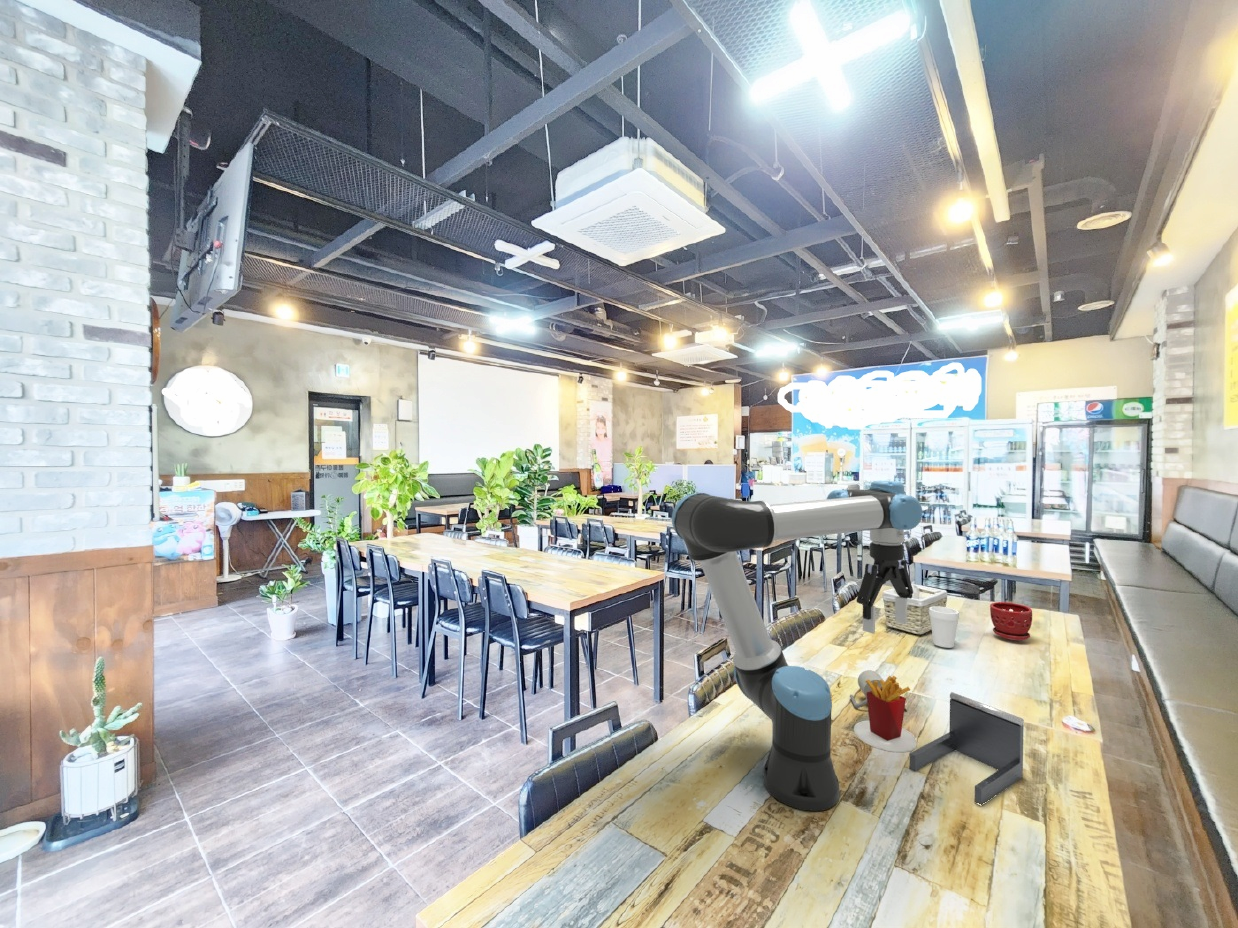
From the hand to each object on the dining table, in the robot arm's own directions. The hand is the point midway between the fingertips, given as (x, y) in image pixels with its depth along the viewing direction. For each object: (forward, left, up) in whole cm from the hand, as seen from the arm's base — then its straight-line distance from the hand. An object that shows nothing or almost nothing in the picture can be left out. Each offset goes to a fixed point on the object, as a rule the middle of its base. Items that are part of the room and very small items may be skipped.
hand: (885, 627), depth 128 cm
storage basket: (+92, +44, -28) cm, 106 cm away
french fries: (+1, -1, -28) cm, 28 cm away
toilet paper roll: (+17, +9, -32) cm, 37 cm away
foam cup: (+80, +26, -28) cm, 89 cm away
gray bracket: (-1, -18, -28) cm, 33 cm away
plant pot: (+111, +17, -28) cm, 116 cm away
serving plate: (0, 0, -28) cm, 28 cm away
